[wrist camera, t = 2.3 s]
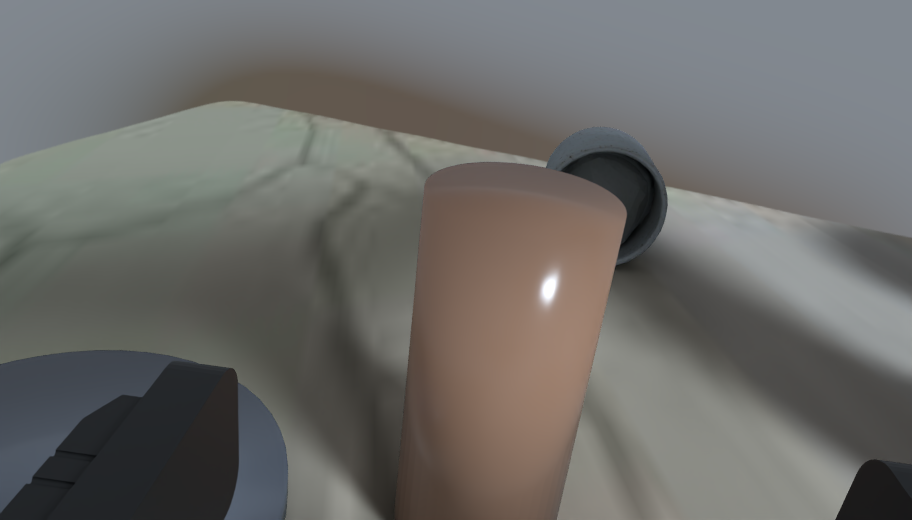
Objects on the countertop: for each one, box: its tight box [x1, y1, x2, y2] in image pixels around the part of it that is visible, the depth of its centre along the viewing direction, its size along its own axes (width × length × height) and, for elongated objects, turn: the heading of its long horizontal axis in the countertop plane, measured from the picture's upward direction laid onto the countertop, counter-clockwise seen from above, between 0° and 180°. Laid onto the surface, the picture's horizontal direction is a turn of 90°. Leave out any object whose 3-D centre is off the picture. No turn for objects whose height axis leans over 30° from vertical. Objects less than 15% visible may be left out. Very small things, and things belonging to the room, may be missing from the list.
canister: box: [394, 162, 627, 520], centre depth 22 cm, size 6×6×12 cm
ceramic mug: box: [546, 127, 668, 266], centre depth 46 cm, size 11×8×8 cm
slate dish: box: [0, 350, 288, 520], centre depth 23 cm, size 15×15×1 cm
